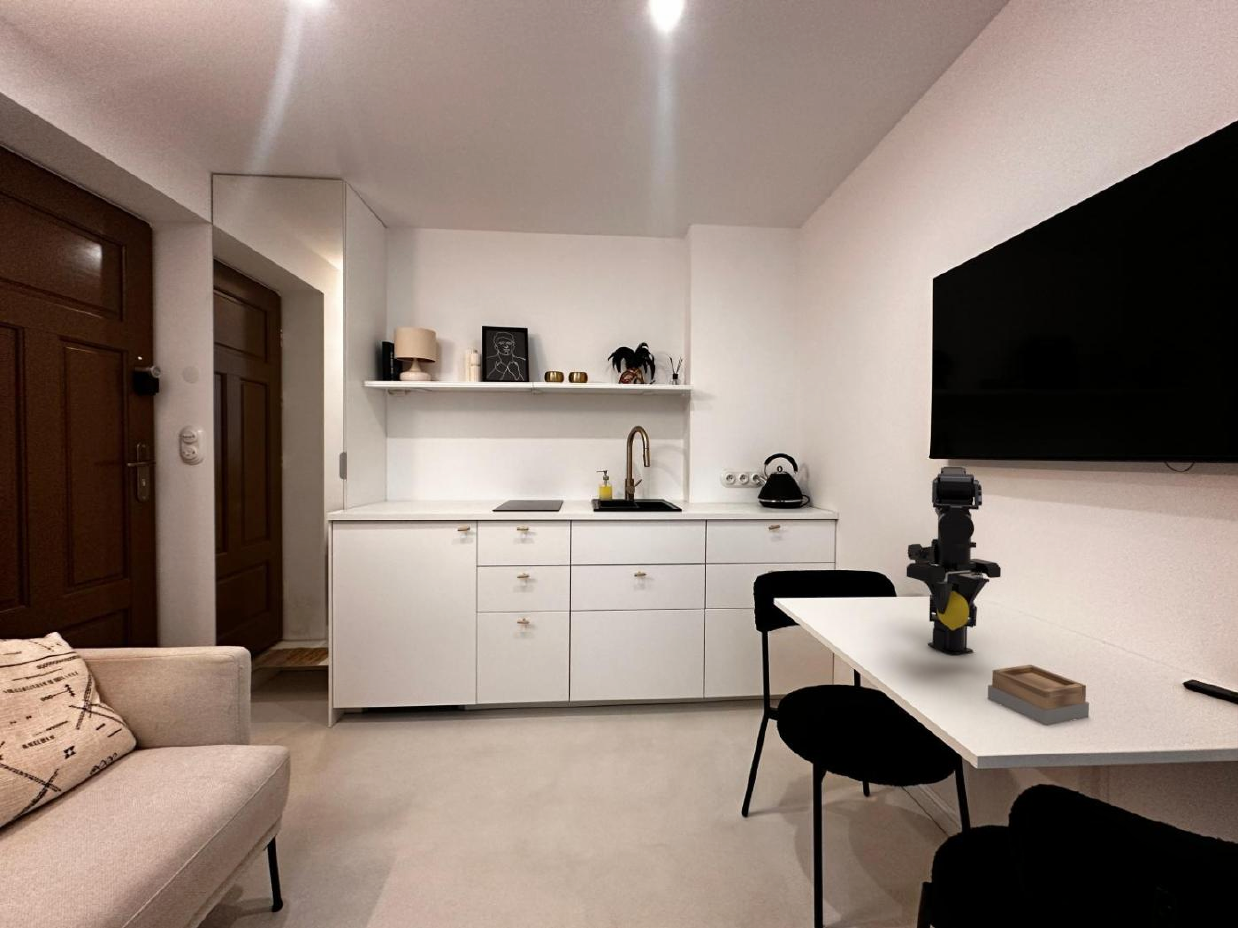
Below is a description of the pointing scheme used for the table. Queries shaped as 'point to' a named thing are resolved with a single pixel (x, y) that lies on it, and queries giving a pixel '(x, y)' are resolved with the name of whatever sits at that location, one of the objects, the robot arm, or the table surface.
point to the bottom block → (1035, 712)
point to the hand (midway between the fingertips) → (952, 612)
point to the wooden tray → (1039, 687)
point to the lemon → (955, 611)
